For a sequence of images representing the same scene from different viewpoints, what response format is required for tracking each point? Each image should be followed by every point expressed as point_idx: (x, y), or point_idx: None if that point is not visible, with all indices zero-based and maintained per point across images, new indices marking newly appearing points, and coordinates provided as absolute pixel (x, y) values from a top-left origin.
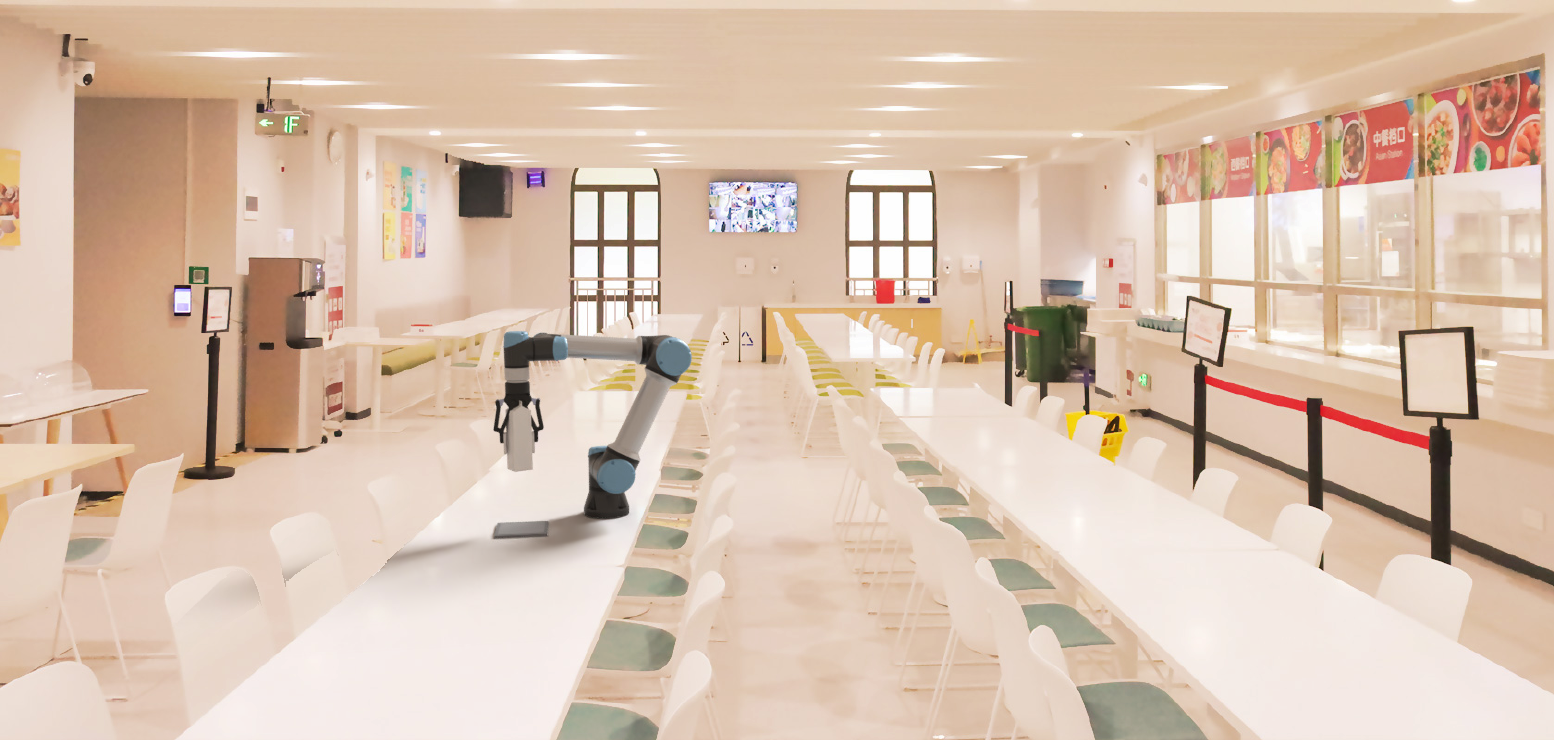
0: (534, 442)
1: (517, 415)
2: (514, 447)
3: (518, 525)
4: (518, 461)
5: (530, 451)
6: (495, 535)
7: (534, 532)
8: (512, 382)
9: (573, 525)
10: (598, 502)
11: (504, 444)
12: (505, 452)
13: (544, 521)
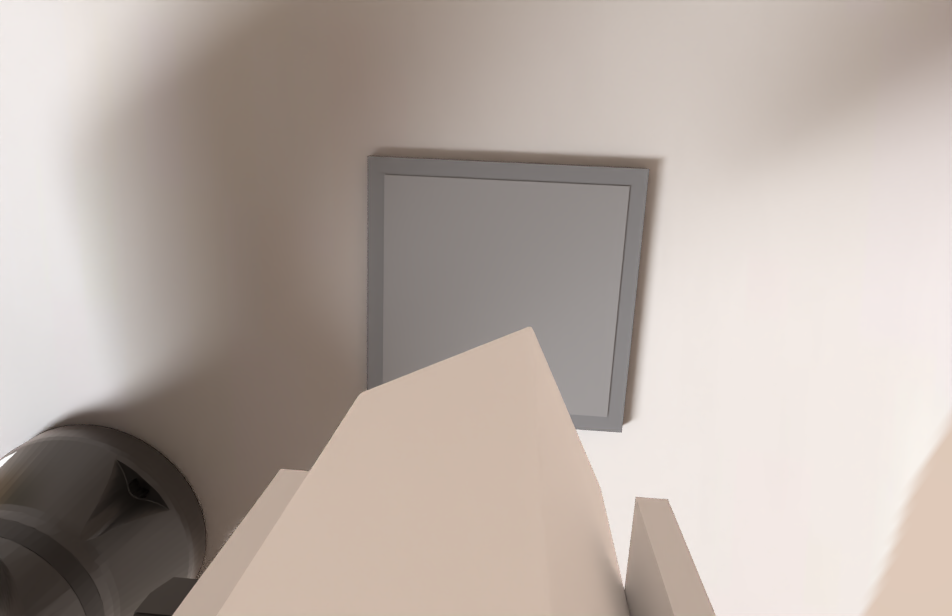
0: None
1: None
2: (532, 430)
3: None
4: (488, 375)
5: (321, 473)
6: (641, 177)
7: (434, 189)
8: None
9: (247, 342)
10: (83, 487)
11: (689, 584)
12: (652, 510)
13: None
